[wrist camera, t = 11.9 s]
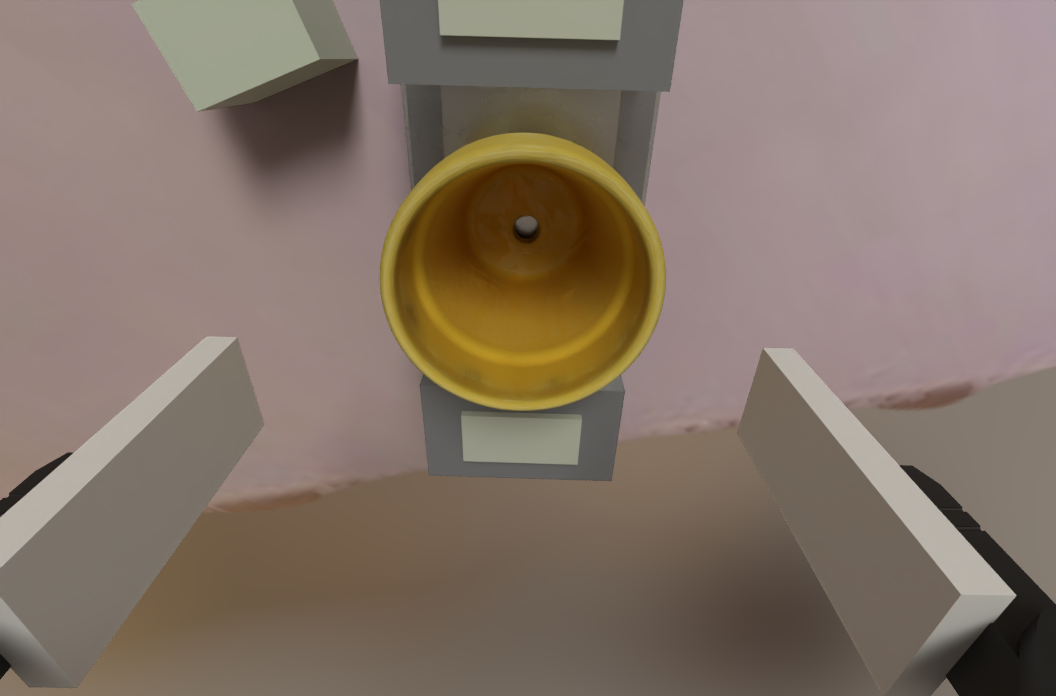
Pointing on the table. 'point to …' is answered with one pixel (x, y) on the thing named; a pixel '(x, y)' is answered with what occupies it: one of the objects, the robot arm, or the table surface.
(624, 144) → the rail
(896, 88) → the table surface
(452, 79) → the block
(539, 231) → the plant pot
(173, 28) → the block
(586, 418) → the module far
